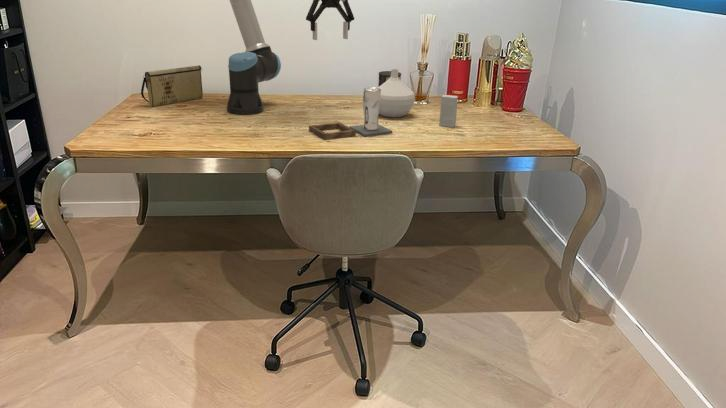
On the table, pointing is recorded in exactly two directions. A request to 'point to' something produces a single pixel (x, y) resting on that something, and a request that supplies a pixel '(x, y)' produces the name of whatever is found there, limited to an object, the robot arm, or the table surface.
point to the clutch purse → (173, 85)
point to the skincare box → (448, 111)
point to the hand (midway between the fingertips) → (330, 39)
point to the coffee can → (385, 77)
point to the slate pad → (367, 133)
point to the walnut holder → (332, 135)
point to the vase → (395, 97)
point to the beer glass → (371, 108)
